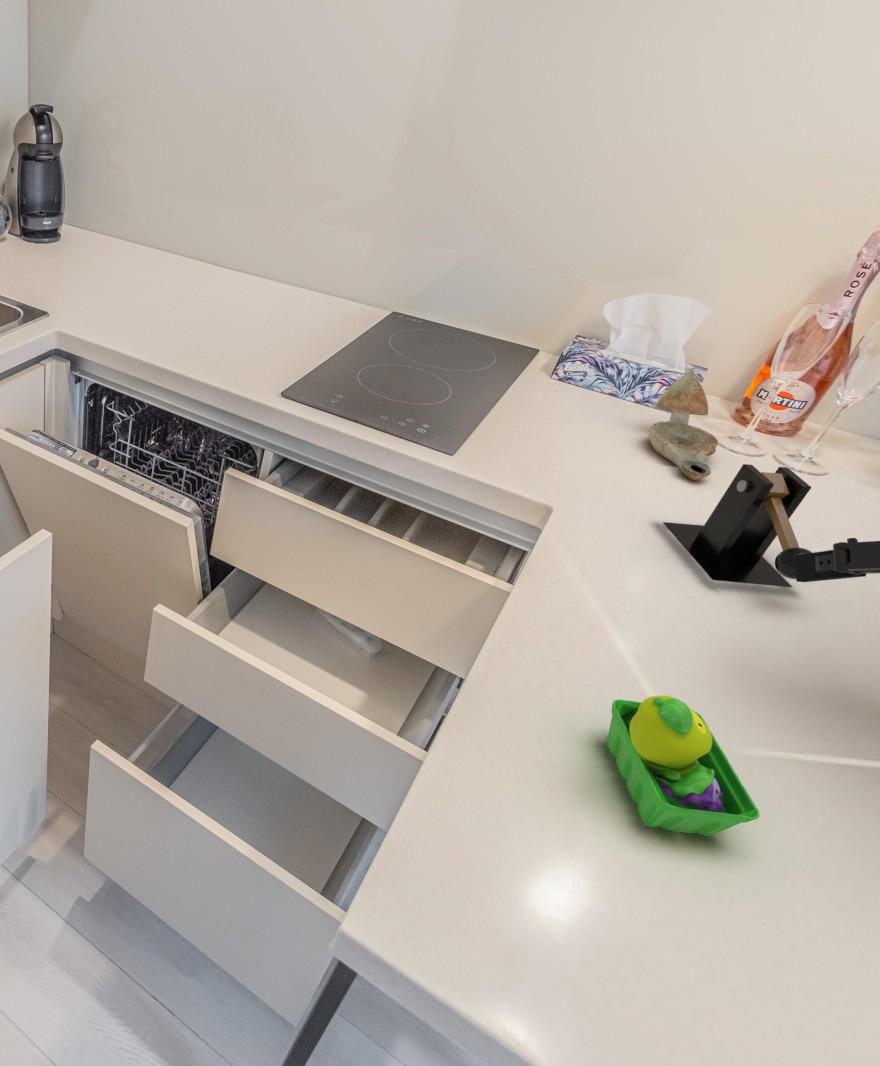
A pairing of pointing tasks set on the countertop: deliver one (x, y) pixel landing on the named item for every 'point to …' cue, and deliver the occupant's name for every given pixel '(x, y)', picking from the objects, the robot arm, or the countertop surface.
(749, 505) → the switch bracket
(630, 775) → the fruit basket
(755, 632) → the countertop surface
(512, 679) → the countertop surface
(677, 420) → the oil lamp
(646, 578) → the countertop surface
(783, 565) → the switch lever
